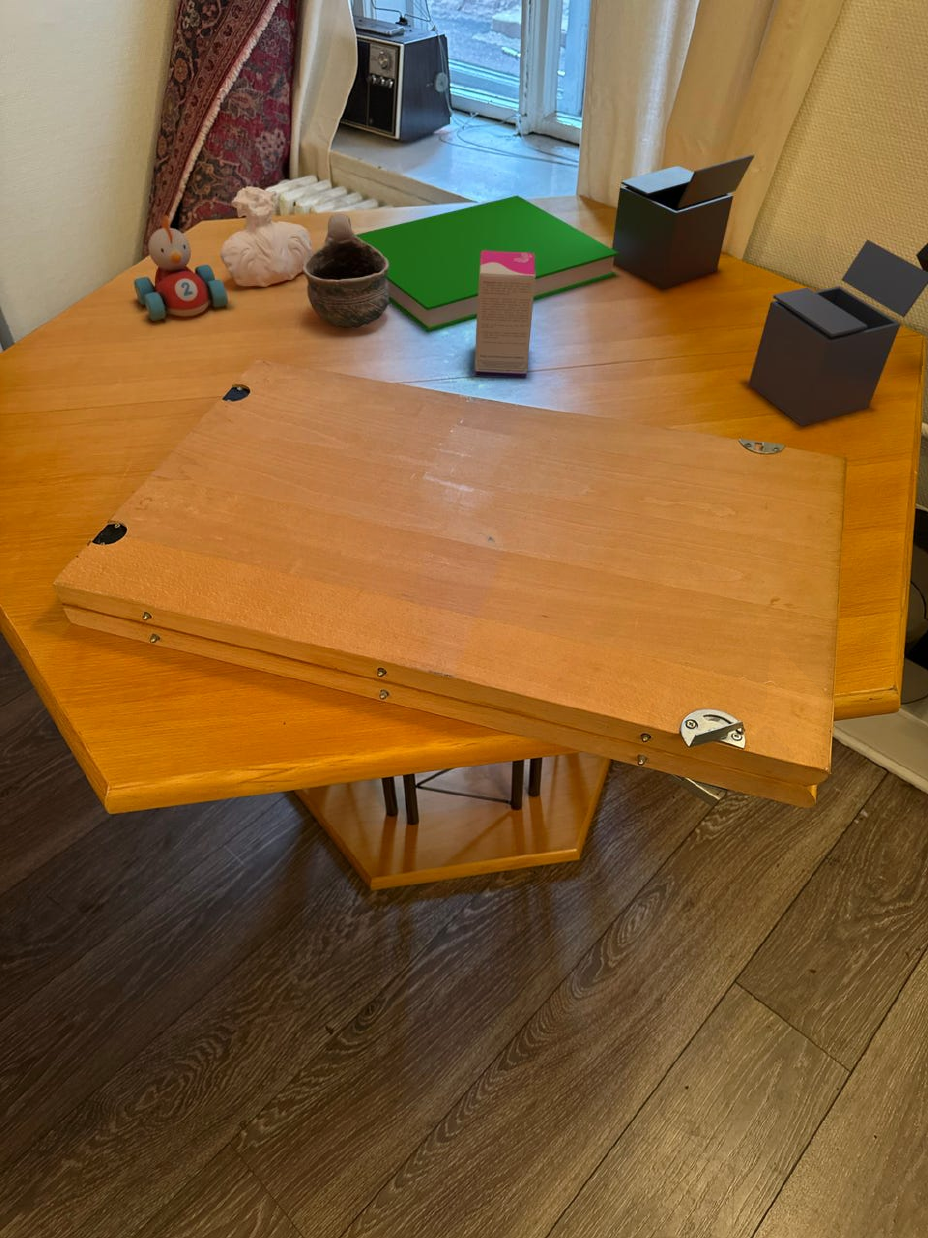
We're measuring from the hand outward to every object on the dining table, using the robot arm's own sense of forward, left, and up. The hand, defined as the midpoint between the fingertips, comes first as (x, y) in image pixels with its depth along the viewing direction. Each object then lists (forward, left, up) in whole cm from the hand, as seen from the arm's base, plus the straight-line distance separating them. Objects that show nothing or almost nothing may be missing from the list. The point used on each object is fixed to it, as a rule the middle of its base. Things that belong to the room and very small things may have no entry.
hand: (925, 265), depth 89 cm
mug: (+60, +12, -12) cm, 62 cm away
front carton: (+7, +8, -12) cm, 16 cm away
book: (+51, -6, -12) cm, 53 cm away
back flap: (+24, -14, 0) cm, 28 cm away
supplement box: (+39, +15, -12) cm, 44 cm away
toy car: (+79, +18, -12) cm, 82 cm away
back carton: (+29, -17, -12) cm, 36 cm away
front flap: (+3, +4, 0) cm, 5 cm away
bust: (+74, +7, -12) cm, 75 cm away
